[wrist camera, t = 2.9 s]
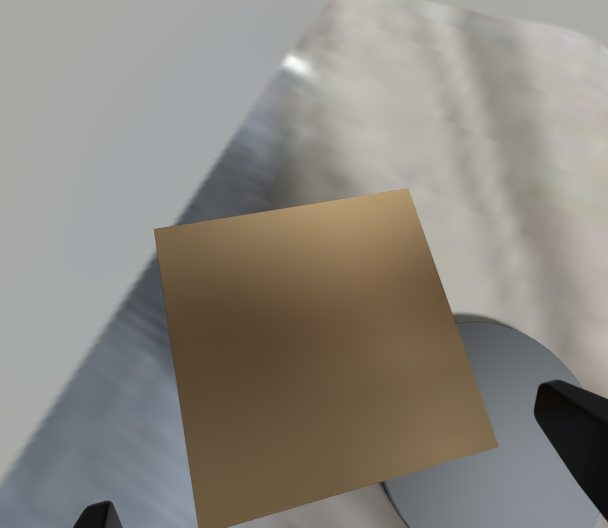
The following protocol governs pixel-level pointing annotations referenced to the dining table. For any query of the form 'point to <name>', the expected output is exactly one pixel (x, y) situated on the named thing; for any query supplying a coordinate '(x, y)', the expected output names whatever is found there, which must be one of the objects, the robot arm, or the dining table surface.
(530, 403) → the disc
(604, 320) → the dining table surface
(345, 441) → the wooden stool
